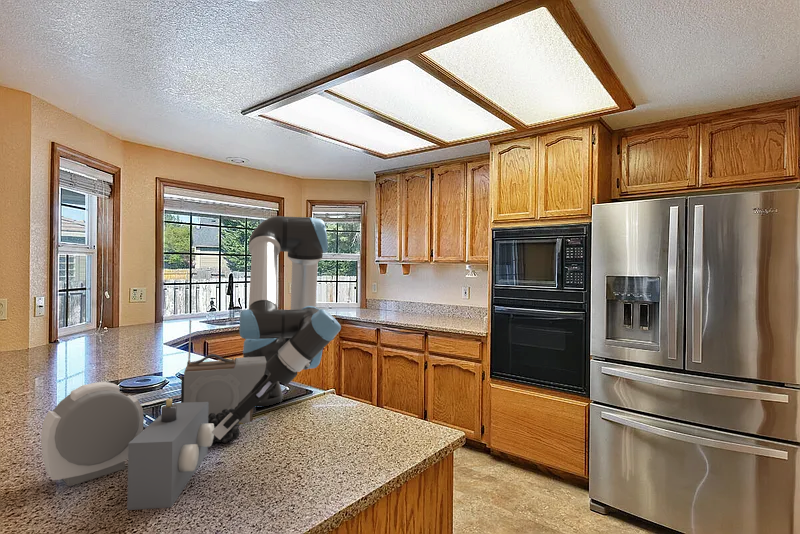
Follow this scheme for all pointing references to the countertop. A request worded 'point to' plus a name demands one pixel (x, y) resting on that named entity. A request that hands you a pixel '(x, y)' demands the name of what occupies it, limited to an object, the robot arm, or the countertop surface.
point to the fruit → (231, 434)
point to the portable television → (221, 381)
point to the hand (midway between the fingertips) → (216, 434)
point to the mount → (163, 458)
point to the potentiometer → (168, 412)
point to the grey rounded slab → (90, 433)
